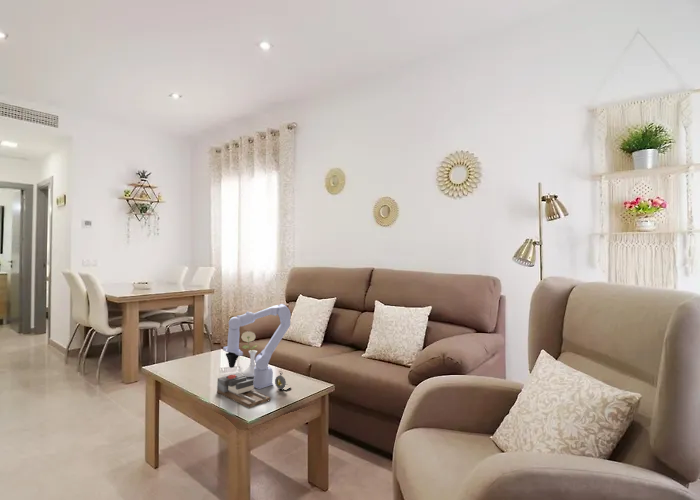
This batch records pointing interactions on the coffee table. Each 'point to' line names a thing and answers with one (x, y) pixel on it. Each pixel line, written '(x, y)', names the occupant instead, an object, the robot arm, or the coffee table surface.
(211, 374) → the coffee table surface
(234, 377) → the button
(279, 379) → the pocket watch
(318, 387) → the coffee table surface
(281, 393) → the coffee table surface
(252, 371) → the flower in vase
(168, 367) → the coffee table surface
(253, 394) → the rail board
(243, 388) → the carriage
